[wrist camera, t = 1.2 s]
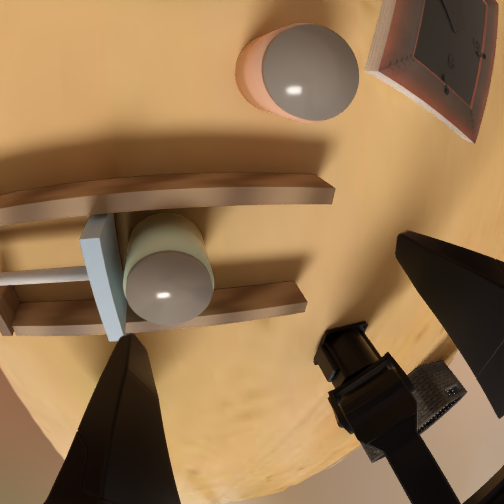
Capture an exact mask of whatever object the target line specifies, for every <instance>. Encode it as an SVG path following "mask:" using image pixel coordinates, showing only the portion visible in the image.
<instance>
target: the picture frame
mask: <svg viewBox="0 0 504 504" xmlns="http://www.w3.org/2000/svg"><path fill="white" fill-rule="evenodd" d="M497 26H498V3H497V2H496V0H383V2H382V7H381V11H380V15H379V19H378V22H377V26H376V30H375V34H374V38H373V41H372V45H371V49H370V52H369V56H368V59H367V63H366V66H365V70H364V71H366V72H368V73H370V74H372V75H373V76H375V77H377V78H379V79H380V80H382V81H384V82H385V83H387V84H389V85H390V86H392V87H393V88H395V89H397V90H398V91H400V92H401V93H403V94H404V95H406V96H407V97H409V98H410V99H412V100H413V101H415V102H416V103H418V104H419V105H421V106H422V107H423V108H425V109H426V110H428V111H429V112H430V113H432V114H433V115H434V116H436V117H437V118H438V119H439V120H441V121H442V122H443V123H445V124H446V125H447V126H448V127H450V128H451V129H452V130H453V131H454V132H456V133H457V134H458V135H459V136H460V137H462V138H463V139H464V140H466V141H469V142H471V143H474V144H475V142H476V139H477V135H478V132H479V128H480V125H481V121H482V117H483V113H484V109H485V105H486V101H487V96H488V92H489V87H490V81H491V76H492V70H493V63H494V56H495V48H496V39H497Z"/></svg>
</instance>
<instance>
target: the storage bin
mask: <svg viewBox="0 0 504 504" xmlns="http://www.w3.org/2000/svg"><path fill="white" fill-rule="evenodd" d="M408 378H409V379H410V381H411V382H412V384H413V386H414V388H415V390H416V392H414V393H413V394H412V395H413V396H414V398H415V399H416V401H417V406H418V433H419V435H420V434H421V433H423V432H424V431H425V430H427V429H428V428H429V427H430V426H431V425H433V424H434V423H435V422H436V421H437V420H439V419H440V418H441V417H442V416H443V415H444V414H445V413H447V412H448V411H449V410H450V409H451V408H452V407H453V406H454V405H455V404H456V403H457V402H458V401H459V400H460V399H461V398H462V397H463V396H464V395H465V394H466V393H467V391H466V390H465V388H464V387H463V385H461V383H460V382H459V381H458V379H457V378H456V377H455V375H454V374H453V373H452V371H451V370H450V369H449V368H448V366H447V365H446V364H445V363H444V361H443V360H441V361H438V362H434V363H430V364H426V365H422V366H420V367H418V368H416V369H415V370H414V371H412V372H411V373H410V374H409V375H408ZM435 382H436V383H435ZM450 388H451V389H450ZM453 390H454V391H453ZM447 391H448V392H447ZM452 391H453V392H452ZM454 393H455V394H454ZM449 394H450V395H449ZM416 397H417V398H416ZM457 398H458V399H457ZM454 401H455V402H454ZM447 404H448V405H447ZM451 404H452V405H451ZM446 405H447V406H446ZM444 407H445V408H444ZM448 407H449V408H448ZM425 408H426V409H425ZM443 408H444V409H443ZM424 409H425V410H424ZM440 410H441V411H440ZM422 411H423V412H422ZM442 412H443V413H442ZM437 413H438V414H437ZM439 415H440V416H439ZM434 416H435V417H434ZM431 418H432V419H431ZM428 421H429V422H428ZM425 423H426V424H425ZM427 425H428V426H427ZM422 426H423V427H422ZM426 426H427V427H426ZM419 428H420V429H419ZM421 430H422V431H421ZM360 443H361V444H362V446H363V448H364V450H365V452H366V453H367V455H368V457H369V459H370V460H371V463H373V462H375V461H377V460H379V459H381V458H383V457H385V455H384V453H383V452H380V451H378V450H376V449H374V448H371V447H370V446H368V445H366V444H364V443H362V442H360ZM377 451H378V452H377Z"/></svg>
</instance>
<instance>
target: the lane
mask: <svg viewBox="0 0 504 504" xmlns="http://www.w3.org/2000/svg"><path fill="white" fill-rule="evenodd" d="M334 192H335V188H334V187H333V186H331V185H330V184H328V183H327V182H325V181H324V180H323V179H321V178H320V177H318V176H317V175H313V174H290V173H192V174H169V175H151V176H137V177H124V178H113V179H103V180H94V181H85V182H77V183H69V184H61V185H54V186H48V187H41V188H35V189H29V190H23V191H18V192H12V193H7V194H2V195H0V226H4V225H11V224H18V223H26V222H33V221H41V220H49V219H57V218H66V217H75V216H85V215H95V214H105V213H117V212H129V211H142V210H156V209H172V208H189V207H210V206H235V205H275V204H332V202H333V197H334ZM306 305H307V300H306V299H305V297H304V296H303V294H302V293H301V291H300V289H299V288H298V286H297V285H296V283H295V282H294V281H289V282H281V283H273V284H264V285H255V286H246V287H237V288H227V289H217V290H213V295H212V298H211V301H210V303H209V305H208V306H207V307H206V309H205V310H204V311H203V312H202V313H201V314H199V315H198V316H197V317H195V318H193V319H191V320H189V321H187V322H184V323H180V324H174V325H162V324H156V323H152V322H149V321H147V320H145V319H143V318H141V317H140V316H139V315H137V314H136V313H135V312H134V311H133V310H132V308H131V307H130V306H129V304H128V301H127V311H126V332H125V333H138V332H152V331H164V330H175V329H185V328H194V327H204V326H212V325H221V324H228V323H236V322H244V321H251V320H258V319H264V318H271V317H277V316H284V315H290V314H296V313H301V312H305V309H306ZM0 332H1V334H2V335H3V336H12V335H13V332H15V333H16V335H17V336H78V335H105V334H106V331H105V328H104V325H103V323H102V320H101V317H100V314H99V311H98V307H97V304H96V301H95V299H92V300H74V301H53V302H27V303H20V300H19V298H18V296H17V294H16V291H15V289H14V287H13V285H3V286H0Z"/></svg>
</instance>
